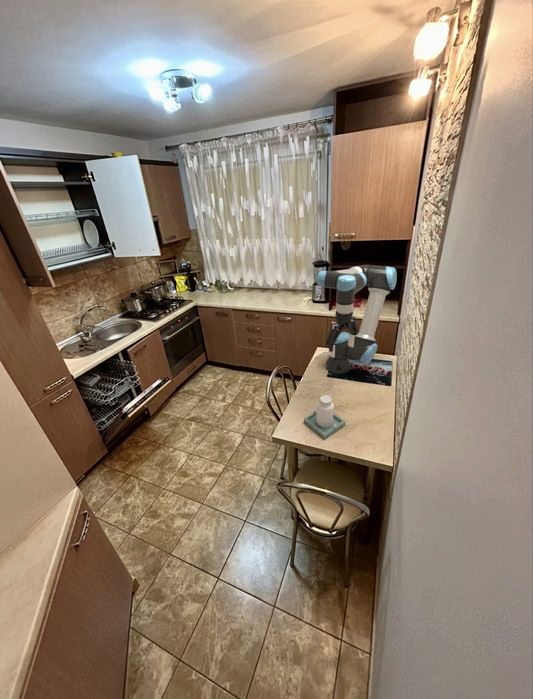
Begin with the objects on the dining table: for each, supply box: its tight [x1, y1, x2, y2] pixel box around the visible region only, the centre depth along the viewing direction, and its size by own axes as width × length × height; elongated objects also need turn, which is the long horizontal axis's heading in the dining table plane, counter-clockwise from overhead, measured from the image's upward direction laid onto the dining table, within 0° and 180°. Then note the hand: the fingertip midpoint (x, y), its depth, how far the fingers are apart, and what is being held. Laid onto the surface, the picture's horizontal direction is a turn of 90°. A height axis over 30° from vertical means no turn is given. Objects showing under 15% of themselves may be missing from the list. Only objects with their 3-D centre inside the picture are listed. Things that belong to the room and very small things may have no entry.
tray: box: [303, 408, 346, 440], centre depth 134 cm, size 14×14×4 cm
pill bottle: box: [316, 394, 335, 428], centre depth 131 cm, size 8×8×15 cm
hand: (341, 351), depth 135 cm, fingers open, 13 cm apart
